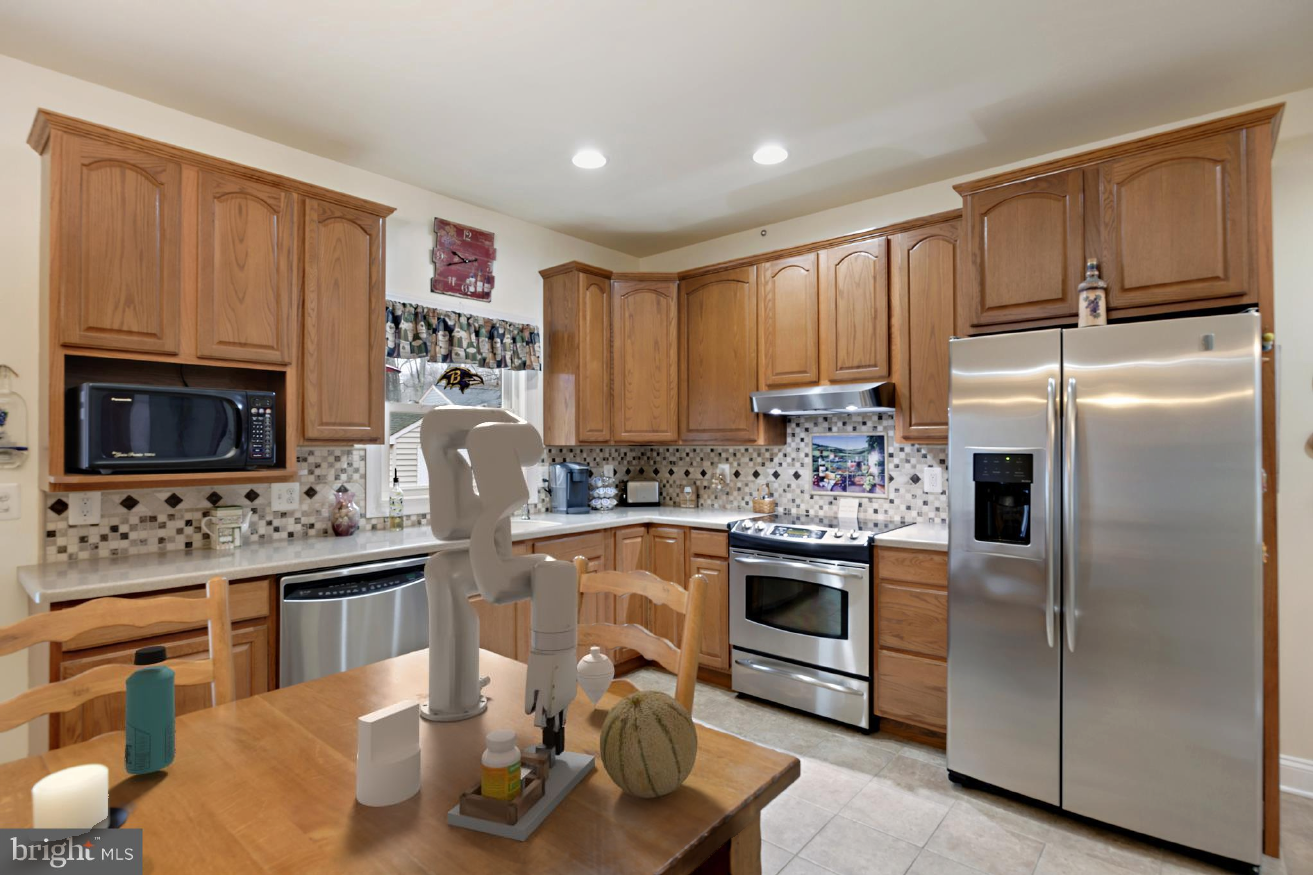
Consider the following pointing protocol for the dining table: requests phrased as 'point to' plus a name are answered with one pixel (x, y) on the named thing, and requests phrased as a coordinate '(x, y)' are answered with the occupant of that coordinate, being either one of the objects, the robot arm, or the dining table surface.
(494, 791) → the supplement bottle
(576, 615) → the robot arm
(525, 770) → the pin
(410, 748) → the cylinder with rectangular tab
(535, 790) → the socket
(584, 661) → the spinning top
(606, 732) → the cantaloupe
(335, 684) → the dining table surface
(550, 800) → the dock board
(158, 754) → the beverage bottle
